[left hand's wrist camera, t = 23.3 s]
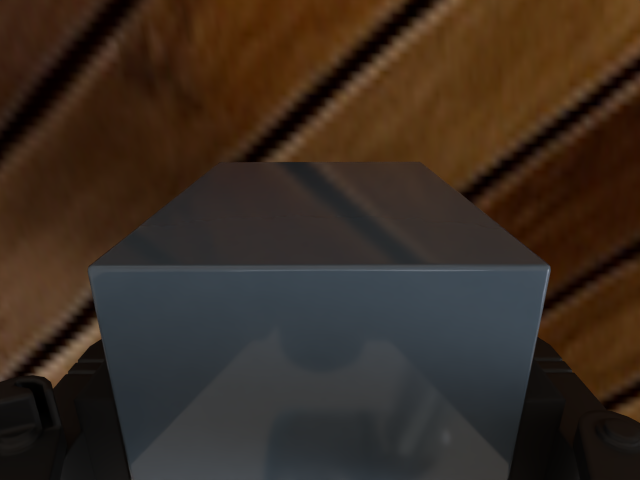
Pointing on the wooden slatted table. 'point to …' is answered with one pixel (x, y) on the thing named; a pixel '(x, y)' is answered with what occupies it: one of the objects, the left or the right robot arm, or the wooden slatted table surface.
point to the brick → (319, 328)
